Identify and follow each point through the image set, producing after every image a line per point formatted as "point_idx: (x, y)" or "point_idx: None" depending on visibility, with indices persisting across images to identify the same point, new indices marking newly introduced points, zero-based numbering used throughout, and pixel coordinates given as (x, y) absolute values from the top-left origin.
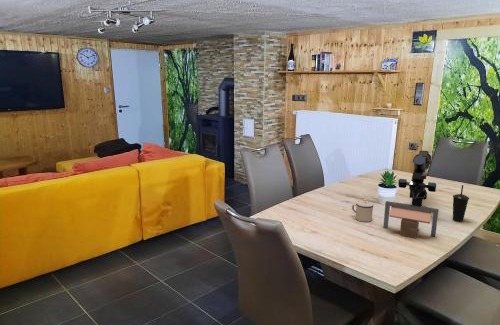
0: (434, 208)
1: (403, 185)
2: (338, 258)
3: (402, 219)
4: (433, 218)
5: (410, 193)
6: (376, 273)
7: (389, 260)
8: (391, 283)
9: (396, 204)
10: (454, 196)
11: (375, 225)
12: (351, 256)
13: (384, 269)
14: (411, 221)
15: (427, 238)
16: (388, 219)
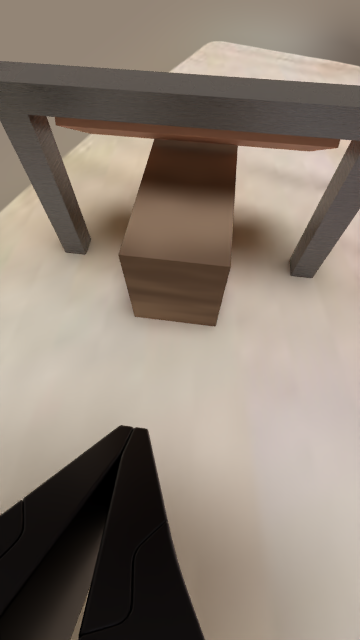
0: (9, 81)
1: None
2: (351, 71)
3: (232, 149)
4: (51, 141)
5: None
6: (253, 54)
7: None
8: (219, 41)
9: (315, 86)
10: None
11: (355, 276)
12: (328, 82)
13: (240, 64)
14: (183, 141)
15: (108, 221)
16: (310, 231)
